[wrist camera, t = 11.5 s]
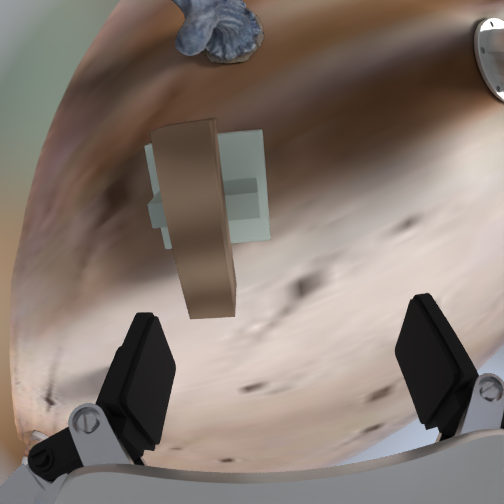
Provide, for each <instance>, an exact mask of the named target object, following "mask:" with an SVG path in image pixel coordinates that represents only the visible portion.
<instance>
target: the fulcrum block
mask: <svg viewBox="0 0 504 504" xmlns="http://www.w3.org/2000/svg"><path fill="white" fill-rule="evenodd" d="M217 135H218V144H219V152H220V161H221V169H222V177H223V185H224V193H225V201H226V209H227V217H228V225H229V232H230V240H231V243H242V242H254V241H266V240H271V239H270V224H269V209H268V195H267V182H266V169H265V156H264V143H263V131H262V129H257V130H245V131H235V132H225V133H217ZM145 152H146V158H147V164H148V169H149V174H150V180H151V185H152V190H153V195H154V197H153V198H152V200H151V201H150V202H149V203H148V204H147V206H148V210H149V215H150V219H151V224H152V228H153V229H154V228H161V232H162V236H163V241H164V245H165V249H172V245H171V241H170V236H169V232H168V227H167V223H166V218H165V213H164V208H163V203H162V198H161V193H160V188H159V183H158V177H157V172H156V166H155V160H154V155H153V149H152V143H151V144H148V145H146V146H145Z"/></svg>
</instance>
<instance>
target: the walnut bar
mask: <svg viewBox="0 0 504 504" xmlns="http://www.w3.org/2000/svg"><path fill="white" fill-rule="evenodd" d="M150 136H151V142H152V149H153V155H154V160H155V166H156V172H157V177H158V183H159V188H160V193H161V198H162V203H163V208H164V213H165V218H166V223H167V227H168V232H169V236H170V241H171V245H172V250H173V254H174V258H175V262H176V266H177V271H178V275H179V279H180V283H181V287H182V290H183V294H184V298H185V302H186V306H187V309H188V313H189V317H190V319H203V318H221V317H235V306H236V277H235V270H234V262H233V255H232V247H231V240H230V232H229V225H228V217H227V209H226V201H225V193H224V185H223V177H222V169H221V161H220V152H219V144H218V135H217V126H216V118H211V119H203V120H196V121H189V122H183V123H176V124H171V125H166V126H164V127H161V128H158V129H156V130H153V131H151V132H150Z"/></svg>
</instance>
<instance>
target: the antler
mask: <svg viewBox="0 0 504 504" xmlns="http://www.w3.org/2000/svg"><path fill="white" fill-rule="evenodd" d="M172 1H173V2H174V3H175V4H176V5H177V6H178V7H179V8H180V9H181V10H182V12H183V13H184V16H185V22H184V23H183V26H182V27H181V29H180V30H179V31H178V34H177V36H176V39H175V46H176V49H177V50H178V51H179V52H180V53H182V54H184V55H188V56H192V55H195V54H198V53H200V52H201V51H202V52H203V54H205V55H206V56H207V57H208V58H209V60H210V61H211V62H213V61H214V62H217V63H235V62H244V61H247V60H249V57H250V56H252V54H253V53H254V52H255V51H256V50H257V48H258V47H260V46H261V43H262V41H263V38H264V32H263V30H262V29H263V26H262V23H261V21H259V19H260V18H259V17H258V16H257V15H255V14H254V13H253V12H252V11H251V10H250V9H248V8H246V4H245V3H244V2H243V1H242V0H172Z"/></svg>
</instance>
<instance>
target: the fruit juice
mask: <svg viewBox="0 0 504 504" xmlns="http://www.w3.org/2000/svg"><path fill="white" fill-rule="evenodd" d="M47 438H49V437H48V436H46V435H45V434H43V433H41V432H38V431H34V432H33V433H32V435H31V438H30V441H29V443H28V446H27V448H26V451H25V454H24V456H23V460H22V464H23V463H24V464H25V465H26V464H27V463H28V461H27V459H28V454H29V451H30V450H31V448H32V447H33V446H34V445H36V444H37V443H39V442H41V441H43V440H45V439H47Z"/></svg>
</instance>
